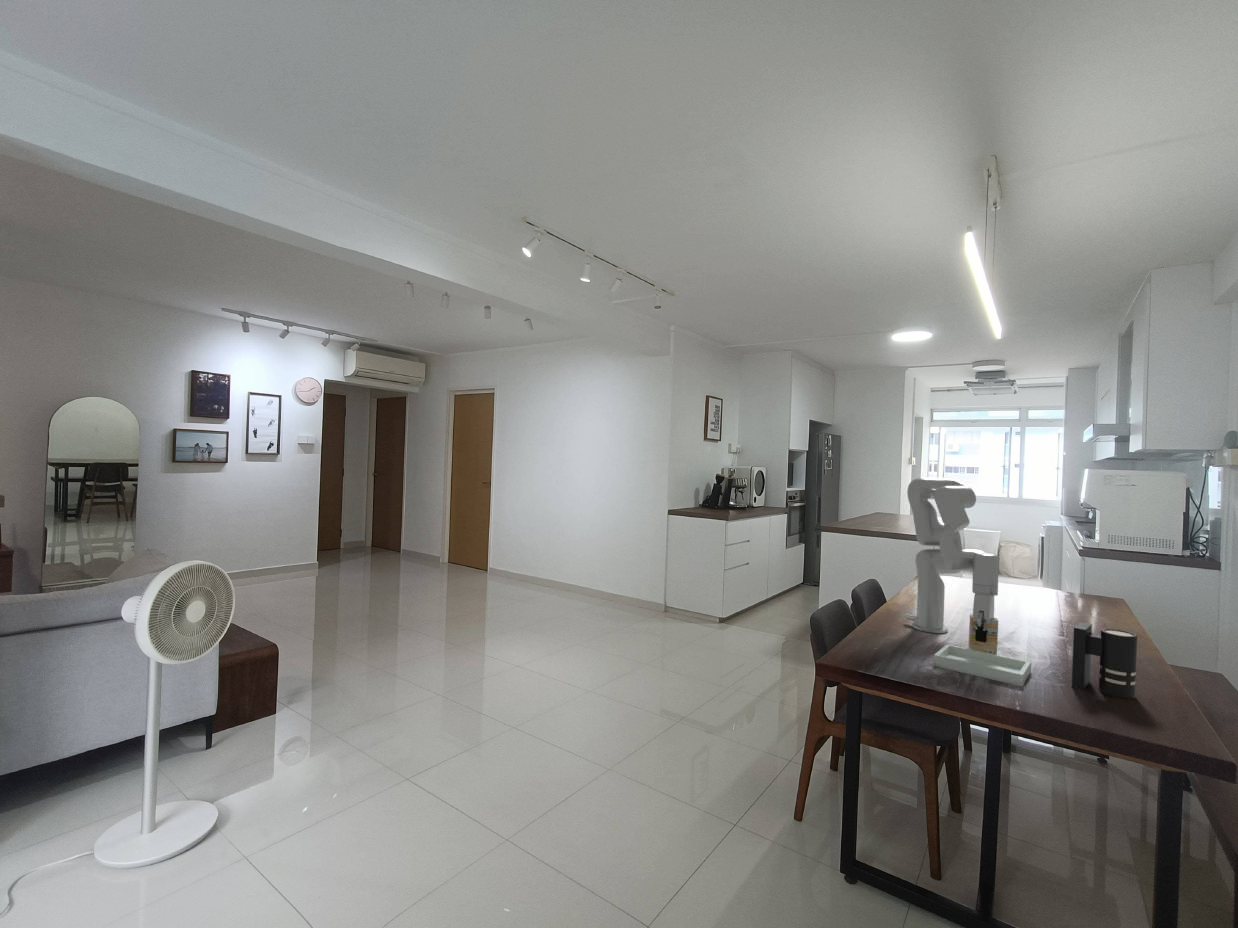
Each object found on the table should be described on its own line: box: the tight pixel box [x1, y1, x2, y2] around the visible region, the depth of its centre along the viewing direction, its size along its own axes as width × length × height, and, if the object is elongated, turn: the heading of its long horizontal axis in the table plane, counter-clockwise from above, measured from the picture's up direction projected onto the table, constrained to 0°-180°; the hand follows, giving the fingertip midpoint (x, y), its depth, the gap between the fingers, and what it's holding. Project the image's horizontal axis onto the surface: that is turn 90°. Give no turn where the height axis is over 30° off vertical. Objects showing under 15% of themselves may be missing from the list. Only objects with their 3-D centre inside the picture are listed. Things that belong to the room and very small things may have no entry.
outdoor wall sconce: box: [1071, 621, 1138, 700], centre depth 173 cm, size 10×14×18 cm
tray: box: [933, 643, 1032, 687], centre depth 189 cm, size 24×16×4 cm, turn 47°
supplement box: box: [967, 613, 999, 655], centre depth 203 cm, size 8×5×13 cm, turn 62°
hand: (983, 638), depth 203 cm, fingers open, 9 cm apart
